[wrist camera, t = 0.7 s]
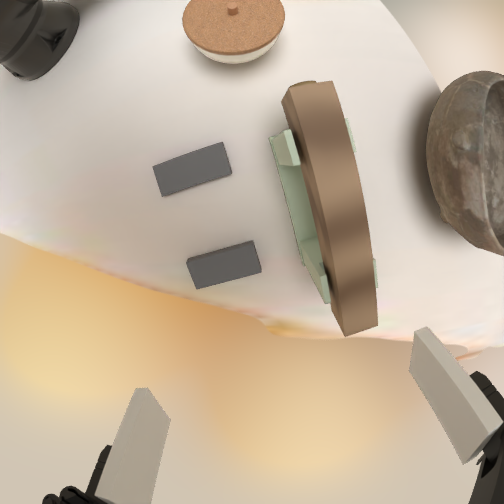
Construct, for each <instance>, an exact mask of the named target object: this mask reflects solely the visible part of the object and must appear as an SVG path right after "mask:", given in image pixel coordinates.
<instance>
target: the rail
mask: <svg viewBox="0 0 504 504" xmlns="http://www.w3.org/2000/svg"><path fill="white" fill-rule="evenodd" d="M281 103H282V106H283V109H284V112H285V115H286V119H287V122H288V125H289V128H290V129H291V132H292V135H293V139H294V142H295V146H296V149H297V153H298V156H299V160H300V167H301V171H302V174H303V178H304V182H305V186H306V190H307V194H308V198H309V202H310V206H311V210H312V215H313V219H314V223H315V228H316V232H317V237H318V241H319V246H320V251H321V255H322V260H323V265H324V270H325V274H326V276H327V282H328V287H329V293H330V299H331V309H332V312H333V314H334V316H335V318H336V320H337V322H338V324H339V326H340V328H341V330H342V332H343V334H344V336H345V337H346V336H349V335H352V334H355V333H358V332H361V331H364V330H367V329H370V328H372V327H375V326H378V317H377V299H376V286H375V275H374V265H373V256H372V248H371V241H370V234H369V227H368V221H367V215H366V209H365V203H364V198H363V193H362V188H361V183H360V178H359V173H358V169H357V164H356V160H355V156H354V152H353V148H352V144H351V140H350V136H349V133H348V129H347V125H346V122H345V118H344V115H343V112H342V108H341V105H340V102H339V99H338V96H337V93H336V90H335V87H334V84H333V81H326V82H319V83H316V81H305V82H300V83H297V84H294V85H292V86H290V87H289V88H288V90H287V92H286V94H285V96H284V97H283V99H282V101H281Z"/></svg>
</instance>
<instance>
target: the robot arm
mask: <svg viewBox="0 0 504 504" xmlns="http://www.w3.org/2000/svg"><path fill="white" fill-rule="evenodd" d="M78 24H79V13H78V11H77V9H76V8H74V7H73V6H71V5H70V4H68V3H65V2H56V1H46V0H0V64H2V65H3V66H4V67H5V68H6V69H7V70H8V71H9V72H11V73H12V74H13V75H14V76H15V77H17V78H20V79H24V80H33V79H36V78H38V77H40V76H42V75H43V74H45V73H46V72H47V71H49V70H50V69H51V68H52V67H53V66H54V65H55V64H56V63H57V62H58V61H59V59H60V58H61V57H62V56H63V54H64V53H65V52H66V50H67V49H68V47H69V45H70V44H71V42H72V40H73V38H74V36H75V34H76V31H77V28H78ZM409 372H410V373H411V374H412V376H413V378H414V379H415V381H416V383H417V384H418V386H419V387H420V389H421V391H422V392H423V394H424V396H425V397H426V399H427V401H428V402H429V404H430V406H431V407H432V409H433V410H434V412H435V414H436V416H437V418H438V419H439V421H440V423H441V424H442V426H443V428H444V430H445V432H446V433H447V435H448V437H449V439H450V440H451V442H452V444H453V446H454V448H455V450H456V452H457V454H458V456H459V458H460V460H461V461H462V463H463V465H464V464H465V463H467V462H469V461H470V460H472V459H473V458H474V457H476V456H477V455H478V454H479V453H480V452H481V451H482V450H483V452H484V454H483V455H482V456H481V458H480V459H479V460H478V462H477V464H476V465H478V464H479V463H480V462H481V461H482V462H481V466H480V470H479V474H478V477H477V480H476V483H475V486H474V489H473V492H472V495H471V498H470V501H469V503H468V504H504V398H503V397H502V395H501V394H500V393H499V392H498V391H497V390H496V388H495V387H494V385H492V383H491V382H490V380H489V379H488V378H487V377H486V376H485V375H483V374H481V373H480V372H478V371H476V372H474V373H473V374H471V375H468V374H467V372H466V371H465V370H464V369H463V367H462V366H461V365H460V364H459V362H458V361H457V360H456V359H455V358H454V356H453V355H452V354H451V353H450V352H449V351H448V349H447V348H446V347H445V346H444V345H443V344H442V342H441V341H440V340H439V339H438V338H437V337H436V336H435V334H434V333H433V332H432V331H431V330H430V329H429V328H428V327H424V328H422V329H419V330H417V331H414V340H413V348H412V355H411V361H410V367H409ZM169 424H170V418H169V417H168V415H167V414H166V413H165V411H164V410H163V409H162V407H161V406H160V405H159V403H158V402H157V400H156V399H155V397H154V396H153V394H152V393H151V391H150V390H149V389H148V388H136V389H135V392H134V394H133V396H132V398H131V401H130V403H129V406H128V408H127V410H126V413H125V415H124V418H123V420H122V422H121V425H120V427H119V430H118V433H117V435H116V438H115V440H114V443H113V445H112V446H110V445H107V446H106V447H105V448H104V449H103V451H102V452H101V453H100V456H99V459H98V462H97V464H96V466H95V469H94V472H93V474H92V477H91V480H90V482H89V485H88V488H87V490H86V492H85V493H83V492H81V491H80V490H79V489H77V488H76V487H73V486H67V487H65V488H64V489H63V490H62V491H61V492H60V496H59V497H58V496H56V495H55V494H48V495H46V496H45V497H44V499H43V502H42V504H151V500H152V496H153V491H154V487H155V482H156V478H157V473H158V469H159V465H160V461H161V457H162V453H163V448H164V444H165V440H166V437H167V433H168V429H169Z"/></svg>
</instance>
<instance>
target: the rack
mask: <svg viewBox="0 0 504 504" xmlns="http://www.w3.org/2000/svg"><path fill="white" fill-rule="evenodd" d="M345 122H346V125H347V129H348V133H349V136H350V140H351V144H352V148H353V152H356V148H355V144H354V141H353V137H352V133H351V129H350V126H349V122H348V119H347V118H345ZM269 141H270V144H271V147H272V151H273V154H274V158H275V161H276V165H277V168H278V172H279V175H280V179H281V182H282V186H283V190H284V193H285V197H286V201H287V205H288V208H289V212H290V216H291V220H292V224H293V228H294V232H295V236H296V240H297V244H298V248H299V252H300V256H301V260H302V264H303V266H306V267H307V269H308V271H309V273H310V275H311V277H312V279H313V281H314V283H315V285H316V287H317V289H318V291H319V293H320V295H321V297H322V299H323V301H324V303H325V304H328V303H331V299H330V293H329V287H328V282H327V276H326V274H325V270H324V265H323V260H322V255H321V251H320V246H319V241H318V237H317V232H316V228H315V223H314V219H313V215H312V210H311V206H310V202H309V198H308V194H307V190H306V186H305V182H304V178H303V174H302V171H301V167H300V160H299V156H298V153H297V149H296V146H295V142H294V139H293V135H292V132H291V129H289V130H284V131H283V132H281V133H280V134H279V135H277V136H273V137H269ZM373 265H374V275H375V286H376V288H378V282H377V271H376V261H375V259H374V258H373Z"/></svg>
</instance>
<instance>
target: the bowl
mask: <svg viewBox="0 0 504 504" xmlns="http://www.w3.org/2000/svg"><path fill="white" fill-rule="evenodd" d="M426 160H427V168H428V173H429V178H430V182H431V186H432V189H433V193H434V196H435V198H436V201H437V203H438V205H439V207H440V209H441V212H440V216H441V218H442V220H443V221H444V222H445V223H450V225H451V226H452V227H453V228H454V229H455V230H456V231H457V232H458V233H459V234H460V235H461V236H463V238H464V239H466V240H467V241H468V242H469V243H471V244H472V245H474V246H475V247H477V248H481V249H484V250H487V251H490V252H493V253H496V254H499V255H502V256H504V75H501V74H499V73H494V72H490V71H479V72H472V73H469V74H466V75H463V76H462V77H460V78H458V79H456V80H454V81H453V82H452V83H451V84H450V85H448V86H447V87H446V88H445V90H444V91H443V92H442V94H441V95H440V97H439V99H438V101H437V103H436V105H435V107H434V109H433V112H432V114H431V117H430V122H429V127H428V132H427V142H426Z"/></svg>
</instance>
